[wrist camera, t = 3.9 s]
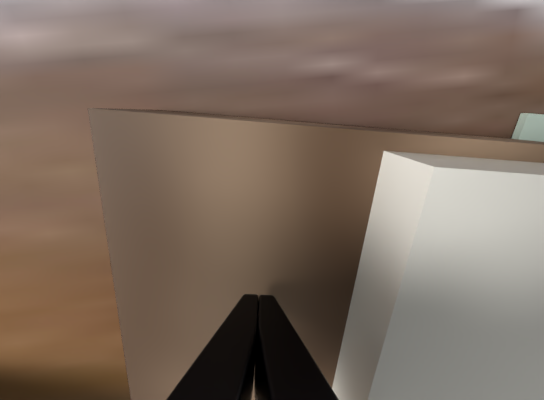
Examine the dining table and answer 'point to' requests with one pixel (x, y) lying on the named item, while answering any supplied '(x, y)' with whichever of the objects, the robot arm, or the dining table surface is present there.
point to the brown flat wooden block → (242, 224)
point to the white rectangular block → (448, 283)
